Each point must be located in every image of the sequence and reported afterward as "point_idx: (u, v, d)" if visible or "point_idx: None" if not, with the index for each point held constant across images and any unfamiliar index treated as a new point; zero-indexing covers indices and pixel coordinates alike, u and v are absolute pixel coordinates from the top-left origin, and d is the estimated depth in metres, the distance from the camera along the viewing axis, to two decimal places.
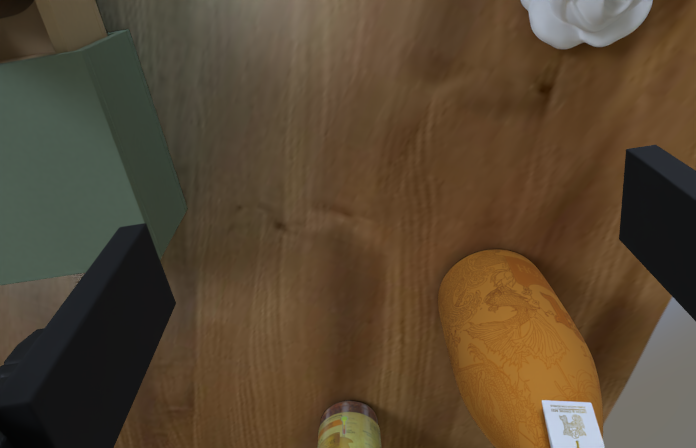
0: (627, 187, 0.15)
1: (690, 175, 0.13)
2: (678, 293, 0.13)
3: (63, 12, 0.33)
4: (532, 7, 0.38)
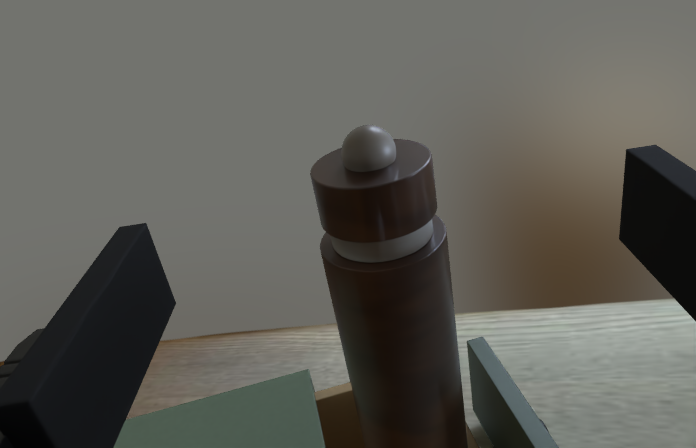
0: (627, 187, 0.15)
1: (690, 175, 0.13)
2: (678, 293, 0.13)
3: None
4: None
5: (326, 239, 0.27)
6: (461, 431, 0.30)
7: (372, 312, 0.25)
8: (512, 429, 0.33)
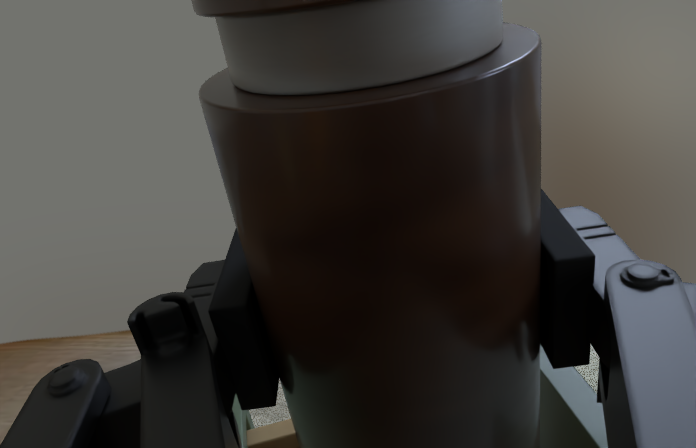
0: None
1: None
2: None
3: None
4: None
5: (224, 73, 0.11)
6: None
7: (330, 250, 0.09)
8: None
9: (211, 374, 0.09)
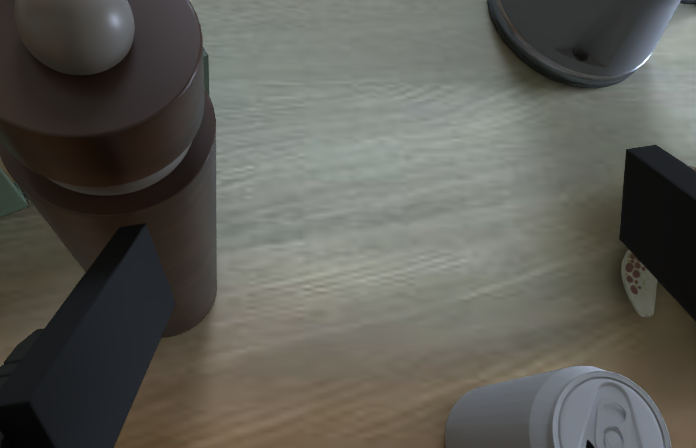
0: (627, 187, 0.15)
1: (690, 175, 0.13)
2: (678, 293, 0.13)
3: None
4: None
5: None
6: (214, 264, 0.28)
7: None
8: None
9: None
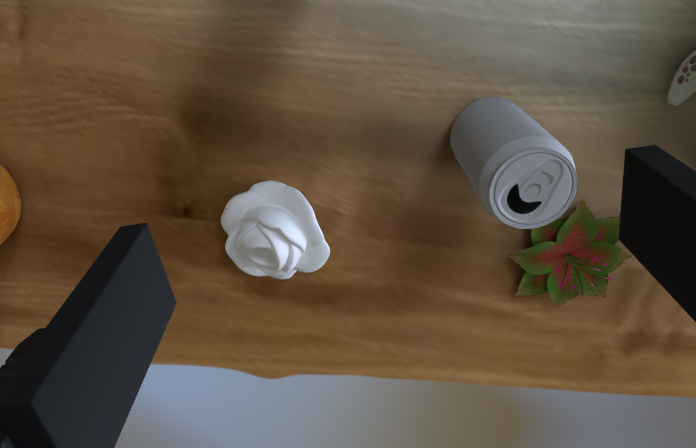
0: (626, 187, 0.15)
1: (689, 175, 0.13)
2: (677, 293, 0.13)
3: None
4: (251, 193, 0.46)
5: None
6: None
7: None
8: None
9: None
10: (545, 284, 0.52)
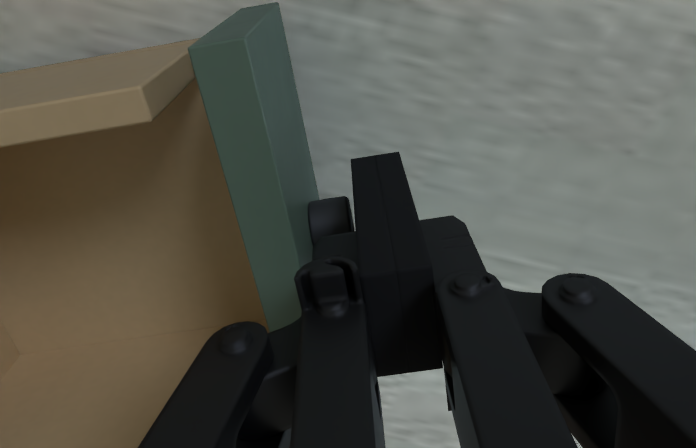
0: None
1: (398, 178, 0.15)
2: None
3: None
4: None
5: None
6: None
7: None
8: None
9: (365, 343, 0.09)
10: None
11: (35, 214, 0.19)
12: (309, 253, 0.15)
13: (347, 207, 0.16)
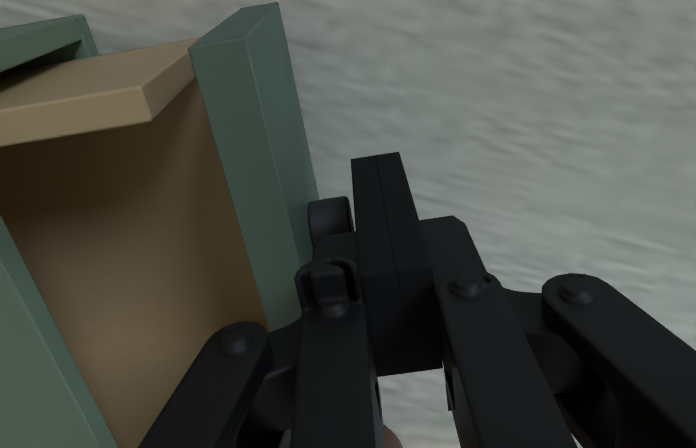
0: None
1: (398, 178, 0.15)
2: None
3: None
4: None
5: None
6: None
7: None
8: None
9: (365, 344, 0.09)
10: None
11: (34, 214, 0.19)
12: (309, 253, 0.15)
13: (347, 207, 0.16)
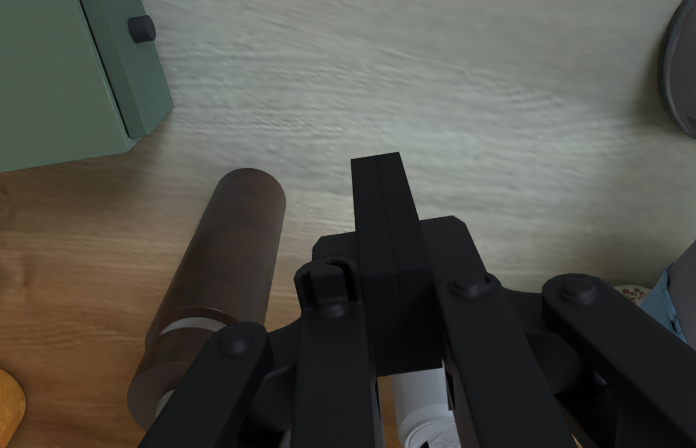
0: None
1: (398, 178, 0.15)
2: None
3: None
4: None
5: (149, 344, 0.29)
6: None
7: None
8: None
9: (365, 344, 0.09)
10: None
11: None
12: (124, 34, 0.35)
13: (145, 17, 0.35)
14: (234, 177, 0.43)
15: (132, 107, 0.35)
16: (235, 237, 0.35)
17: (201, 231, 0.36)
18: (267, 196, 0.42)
